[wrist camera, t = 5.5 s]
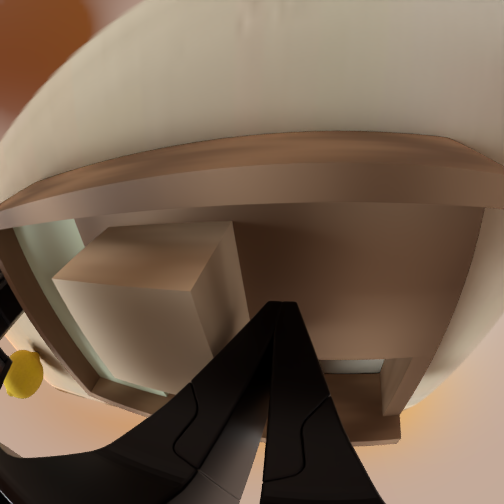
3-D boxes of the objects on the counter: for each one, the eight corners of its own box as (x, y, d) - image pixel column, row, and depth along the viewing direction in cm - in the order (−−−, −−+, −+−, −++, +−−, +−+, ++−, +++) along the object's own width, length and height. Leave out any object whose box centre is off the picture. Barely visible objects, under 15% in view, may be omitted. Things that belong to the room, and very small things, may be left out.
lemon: (53, 371, 29) (26, 412, 23) (25, 346, 28) (-3, 385, 22) (53, 360, 26) (22, 406, 20) (22, 332, 25) (-11, 374, 19)
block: (148, 322, 11) (114, 377, 9) (108, 227, 9) (51, 278, 6) (252, 334, 10) (231, 405, 8) (232, 220, 8) (190, 290, 5)
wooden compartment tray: (115, 352, 19) (89, 395, 16) (35, 182, 12) (-22, 218, 9) (391, 379, 15) (396, 443, 11) (448, 137, 7) (522, 177, 4)
